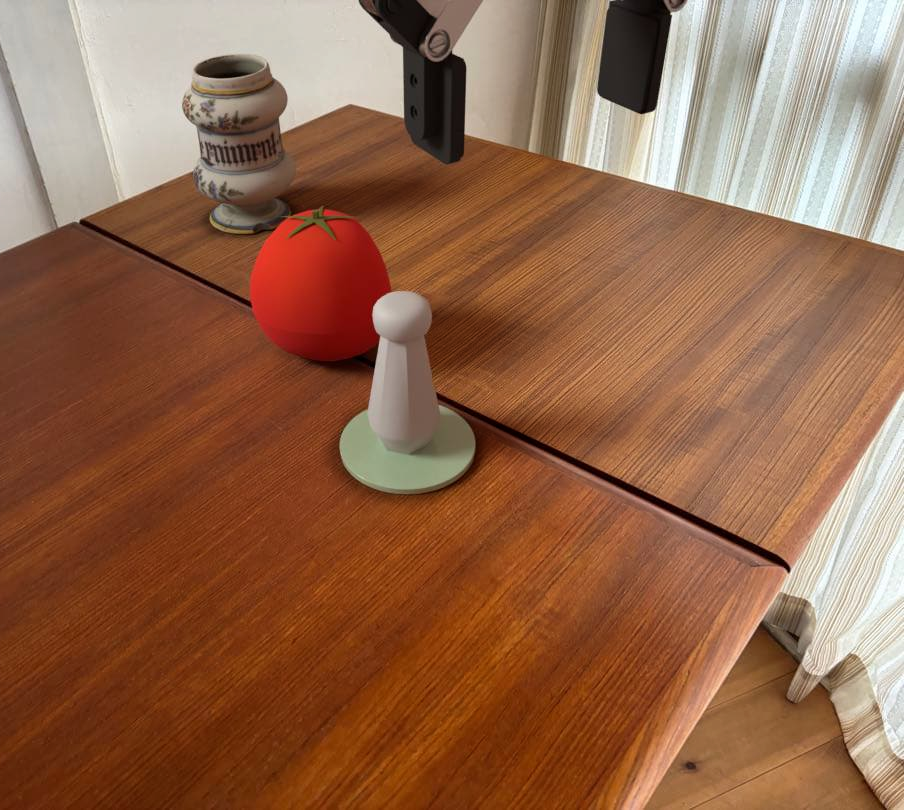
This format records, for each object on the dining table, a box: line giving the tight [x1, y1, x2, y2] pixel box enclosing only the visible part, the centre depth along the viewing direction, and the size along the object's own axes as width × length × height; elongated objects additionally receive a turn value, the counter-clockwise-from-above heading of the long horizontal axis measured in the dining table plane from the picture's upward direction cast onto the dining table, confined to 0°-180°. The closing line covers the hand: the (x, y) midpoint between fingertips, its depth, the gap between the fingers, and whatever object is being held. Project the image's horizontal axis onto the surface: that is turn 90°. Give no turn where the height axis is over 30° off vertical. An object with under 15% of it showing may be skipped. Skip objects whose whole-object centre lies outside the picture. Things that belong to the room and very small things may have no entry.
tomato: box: [249, 205, 392, 362], centre depth 75 cm, size 13×11×14 cm
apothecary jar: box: [181, 53, 297, 235], centre depth 98 cm, size 12×12×18 cm
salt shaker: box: [367, 290, 441, 455], centre depth 65 cm, size 6×6×13 cm
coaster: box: [339, 404, 477, 495], centre depth 69 cm, size 11×11×1 cm
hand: (534, 127), depth 36 cm, fingers open, 9 cm apart
